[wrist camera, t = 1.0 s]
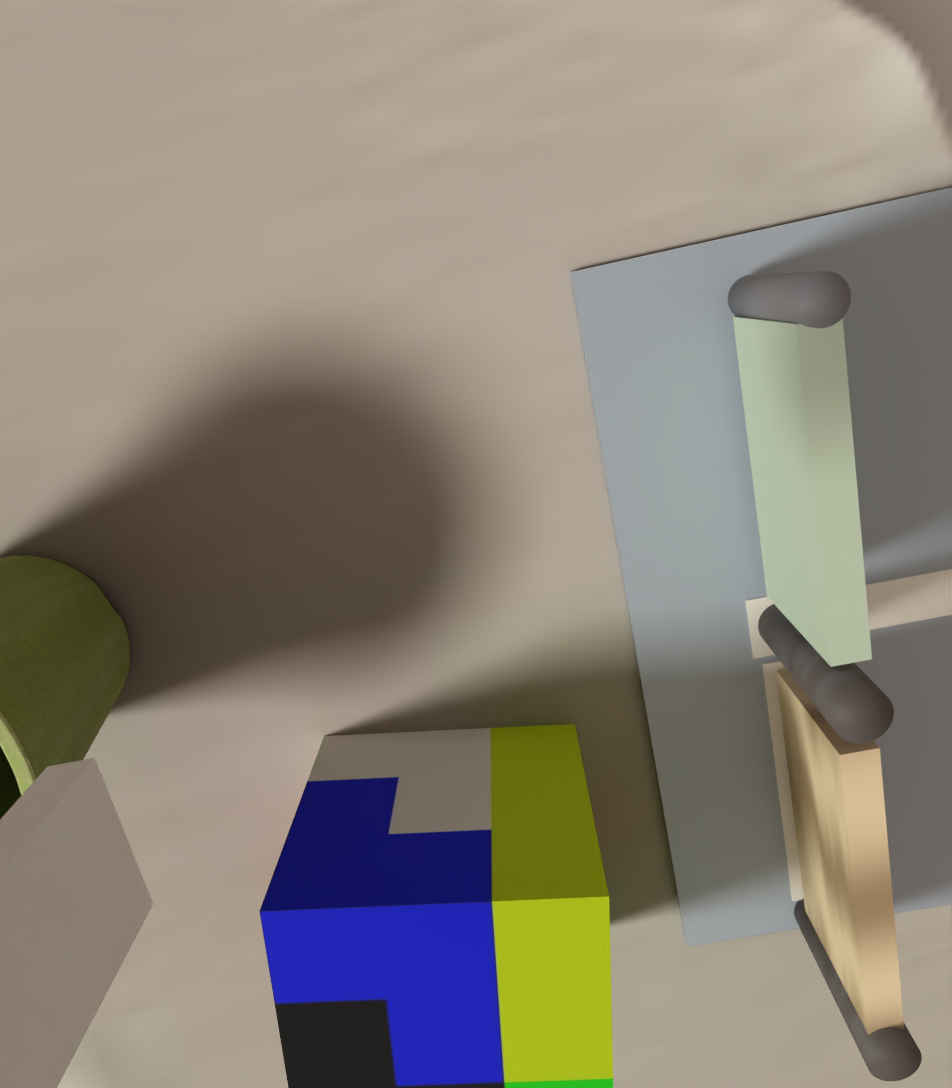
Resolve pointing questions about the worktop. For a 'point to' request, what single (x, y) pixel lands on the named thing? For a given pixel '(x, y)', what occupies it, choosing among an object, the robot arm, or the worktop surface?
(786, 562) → the fence panel
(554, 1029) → the puzzle toy
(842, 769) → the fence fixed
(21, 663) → the plant pot
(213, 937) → the worktop surface
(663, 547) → the card
